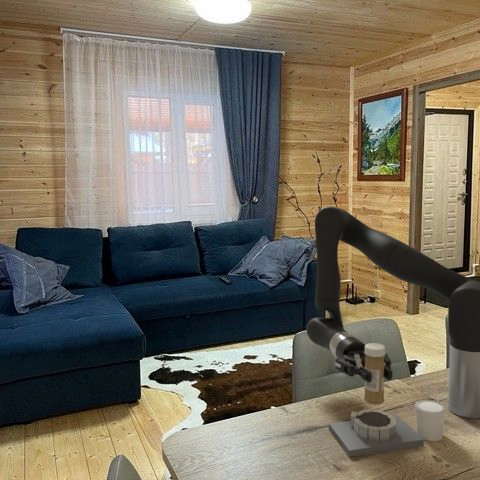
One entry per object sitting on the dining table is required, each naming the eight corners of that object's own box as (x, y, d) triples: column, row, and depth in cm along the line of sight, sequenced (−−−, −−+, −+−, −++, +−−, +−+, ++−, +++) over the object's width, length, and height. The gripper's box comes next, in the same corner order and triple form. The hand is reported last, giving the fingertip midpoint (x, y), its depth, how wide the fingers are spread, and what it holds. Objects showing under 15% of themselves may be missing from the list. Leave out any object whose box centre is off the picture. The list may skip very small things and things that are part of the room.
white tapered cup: (445, 430, 115) (446, 402, 114) (444, 444, 109) (445, 415, 108) (415, 424, 118) (416, 397, 117) (412, 438, 112) (413, 410, 111)
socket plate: (396, 420, 121) (396, 414, 120) (424, 445, 109) (424, 439, 109) (328, 429, 117) (328, 423, 117) (349, 456, 105) (349, 450, 105)
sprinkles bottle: (388, 402, 111) (389, 346, 110) (374, 407, 109) (376, 350, 107) (372, 394, 115) (374, 340, 113) (359, 399, 113) (360, 344, 111)
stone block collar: (383, 418, 118) (383, 407, 118) (403, 439, 109) (403, 426, 109) (347, 423, 117) (347, 411, 116) (365, 444, 107) (365, 432, 107)
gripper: (322, 338, 123) (350, 364, 106) (374, 333, 126) (409, 358, 109) (322, 366, 124) (350, 396, 108) (373, 361, 127) (408, 389, 110)
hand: (380, 377), depth 108 cm, fingers closed on sprinkles bottle, 4 cm apart
